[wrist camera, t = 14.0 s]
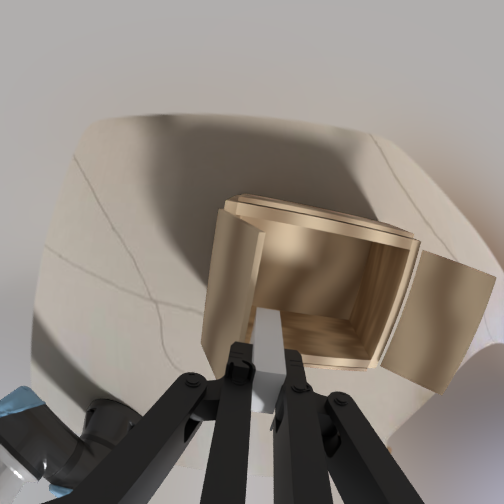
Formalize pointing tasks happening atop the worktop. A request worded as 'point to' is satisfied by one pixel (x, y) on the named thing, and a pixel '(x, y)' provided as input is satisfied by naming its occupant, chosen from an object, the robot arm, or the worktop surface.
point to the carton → (328, 279)
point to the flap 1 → (230, 287)
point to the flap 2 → (438, 321)
